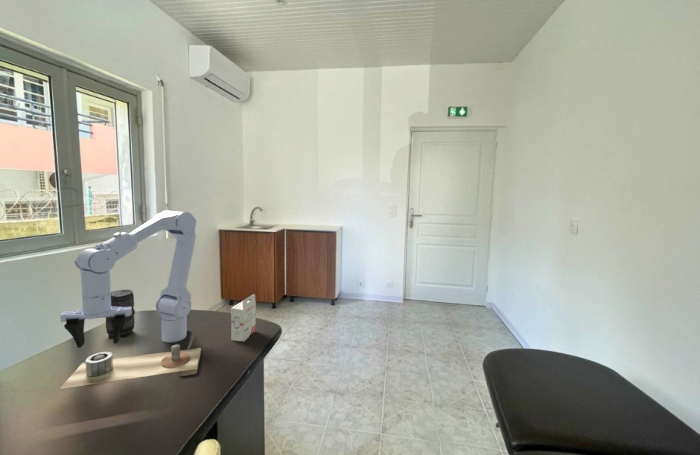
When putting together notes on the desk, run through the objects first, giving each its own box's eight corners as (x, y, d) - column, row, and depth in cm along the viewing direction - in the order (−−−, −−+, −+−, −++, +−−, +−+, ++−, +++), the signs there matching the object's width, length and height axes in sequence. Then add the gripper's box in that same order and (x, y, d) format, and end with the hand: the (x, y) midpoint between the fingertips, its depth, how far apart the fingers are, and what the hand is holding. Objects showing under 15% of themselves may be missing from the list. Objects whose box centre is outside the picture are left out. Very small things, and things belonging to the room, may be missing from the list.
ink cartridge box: (243, 329, 112) (244, 291, 110) (255, 331, 111) (256, 293, 109) (230, 340, 104) (230, 299, 102) (243, 342, 103) (243, 301, 101)
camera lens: (118, 328, 108) (116, 288, 106) (140, 329, 108) (139, 289, 106) (99, 339, 100) (97, 296, 98) (123, 340, 100) (121, 297, 98)
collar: (91, 367, 82) (91, 353, 82) (115, 364, 84) (115, 350, 84) (82, 378, 77) (81, 364, 77) (108, 375, 79) (107, 360, 79)
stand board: (82, 367, 84) (81, 347, 84) (200, 352, 95) (200, 334, 95) (59, 394, 73) (58, 372, 73) (196, 373, 84) (196, 353, 83)
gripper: (52, 302, 72) (55, 355, 73) (125, 297, 77) (127, 347, 79) (67, 292, 78) (70, 342, 80) (133, 288, 84) (134, 335, 85)
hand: (99, 343), depth 80 cm, fingers open, 7 cm apart
